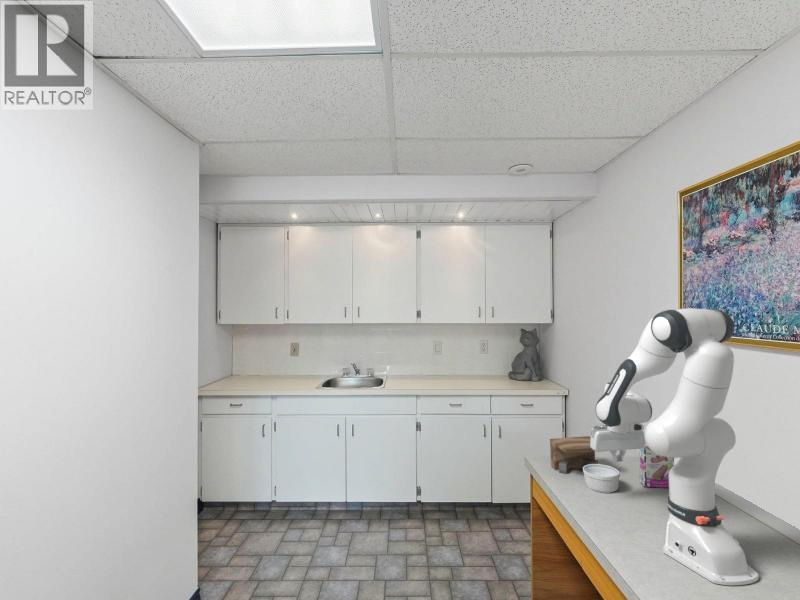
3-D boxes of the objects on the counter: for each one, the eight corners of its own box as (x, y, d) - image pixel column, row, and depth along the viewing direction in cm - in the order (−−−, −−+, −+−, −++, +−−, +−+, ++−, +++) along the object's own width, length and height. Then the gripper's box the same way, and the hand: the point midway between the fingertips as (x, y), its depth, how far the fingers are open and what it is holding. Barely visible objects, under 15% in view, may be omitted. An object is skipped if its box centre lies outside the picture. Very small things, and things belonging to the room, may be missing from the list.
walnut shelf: (609, 475, 173) (608, 446, 173) (567, 479, 171) (566, 449, 171) (590, 463, 187) (589, 436, 187) (550, 466, 185) (550, 438, 185)
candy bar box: (645, 488, 161) (644, 446, 161) (639, 482, 166) (638, 442, 166) (675, 488, 160) (674, 446, 160) (668, 483, 165) (667, 442, 165)
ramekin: (576, 482, 168) (575, 465, 168) (603, 478, 171) (602, 461, 171) (599, 497, 155) (598, 478, 155) (628, 492, 158) (627, 474, 158)
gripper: (596, 429, 148) (597, 466, 148) (648, 425, 150) (648, 462, 151) (586, 423, 154) (587, 459, 154) (636, 420, 157) (636, 455, 157)
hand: (617, 461), depth 152 cm, fingers closed
